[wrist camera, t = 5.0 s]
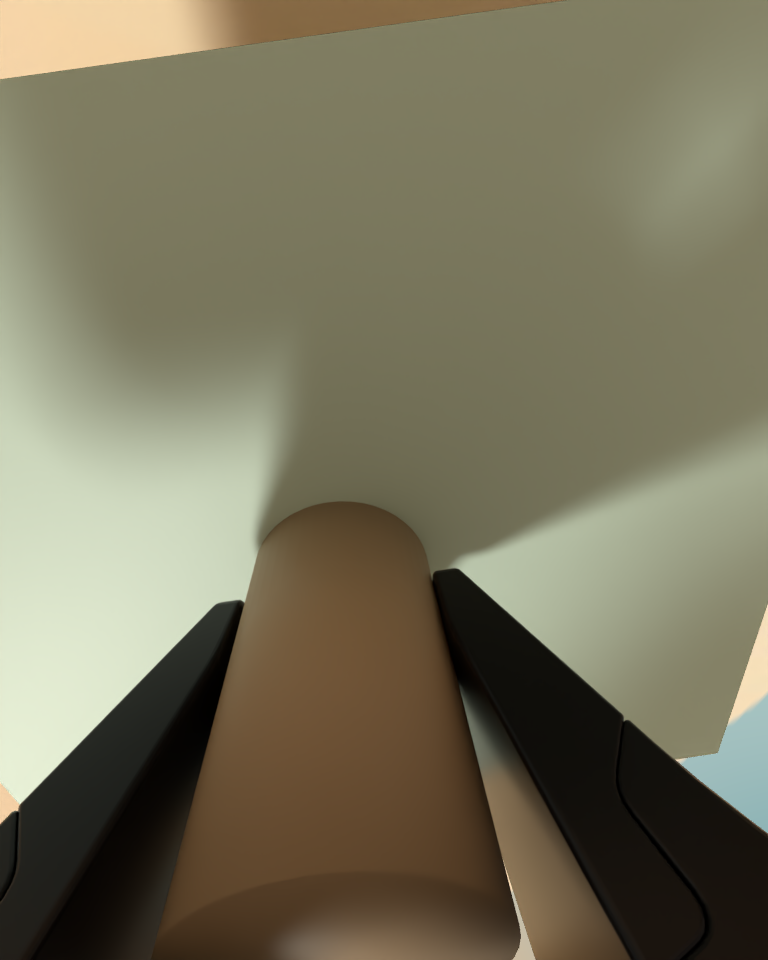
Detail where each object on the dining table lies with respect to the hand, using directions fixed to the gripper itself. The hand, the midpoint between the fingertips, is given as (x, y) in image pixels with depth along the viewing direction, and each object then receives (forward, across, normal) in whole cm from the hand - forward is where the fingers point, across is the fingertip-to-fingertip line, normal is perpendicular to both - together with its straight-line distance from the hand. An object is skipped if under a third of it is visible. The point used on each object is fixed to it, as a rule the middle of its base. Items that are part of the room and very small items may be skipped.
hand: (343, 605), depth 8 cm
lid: (+4, 0, 0) cm, 4 cm away
